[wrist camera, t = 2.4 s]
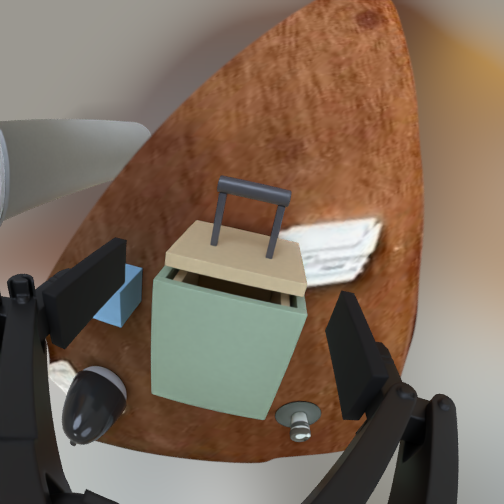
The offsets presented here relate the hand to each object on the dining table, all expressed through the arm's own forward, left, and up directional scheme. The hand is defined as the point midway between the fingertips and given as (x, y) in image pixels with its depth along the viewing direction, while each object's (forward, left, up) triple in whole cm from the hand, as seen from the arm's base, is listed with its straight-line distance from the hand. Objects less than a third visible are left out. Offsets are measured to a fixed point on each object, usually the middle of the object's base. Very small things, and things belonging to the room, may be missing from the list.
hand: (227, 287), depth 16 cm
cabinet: (0, -11, -17) cm, 21 cm away
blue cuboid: (-16, -12, -17) cm, 26 cm away
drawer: (0, -6, -17) cm, 17 cm away
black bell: (-19, -34, -18) cm, 43 cm away
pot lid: (+15, -31, -18) cm, 39 cm away
